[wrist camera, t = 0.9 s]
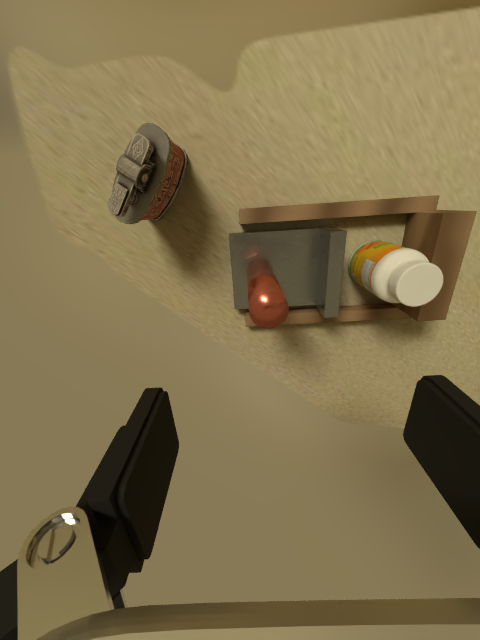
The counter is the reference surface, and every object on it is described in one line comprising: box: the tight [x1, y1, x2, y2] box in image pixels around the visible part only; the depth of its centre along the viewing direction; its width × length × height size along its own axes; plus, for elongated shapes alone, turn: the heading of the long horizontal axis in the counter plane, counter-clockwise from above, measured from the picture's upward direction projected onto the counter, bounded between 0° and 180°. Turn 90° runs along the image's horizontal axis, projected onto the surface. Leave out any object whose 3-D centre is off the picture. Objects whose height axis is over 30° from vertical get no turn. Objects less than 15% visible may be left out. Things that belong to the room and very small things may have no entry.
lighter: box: [107, 123, 188, 224], centre depth 23 cm, size 8×3×10 cm, turn 148°
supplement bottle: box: [348, 241, 443, 307], centre depth 27 cm, size 5×5×10 cm
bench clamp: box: [239, 196, 477, 327], centre depth 29 cm, size 22×14×6 cm, turn 94°
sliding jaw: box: [229, 227, 347, 328], centre depth 25 cm, size 12×9×13 cm
